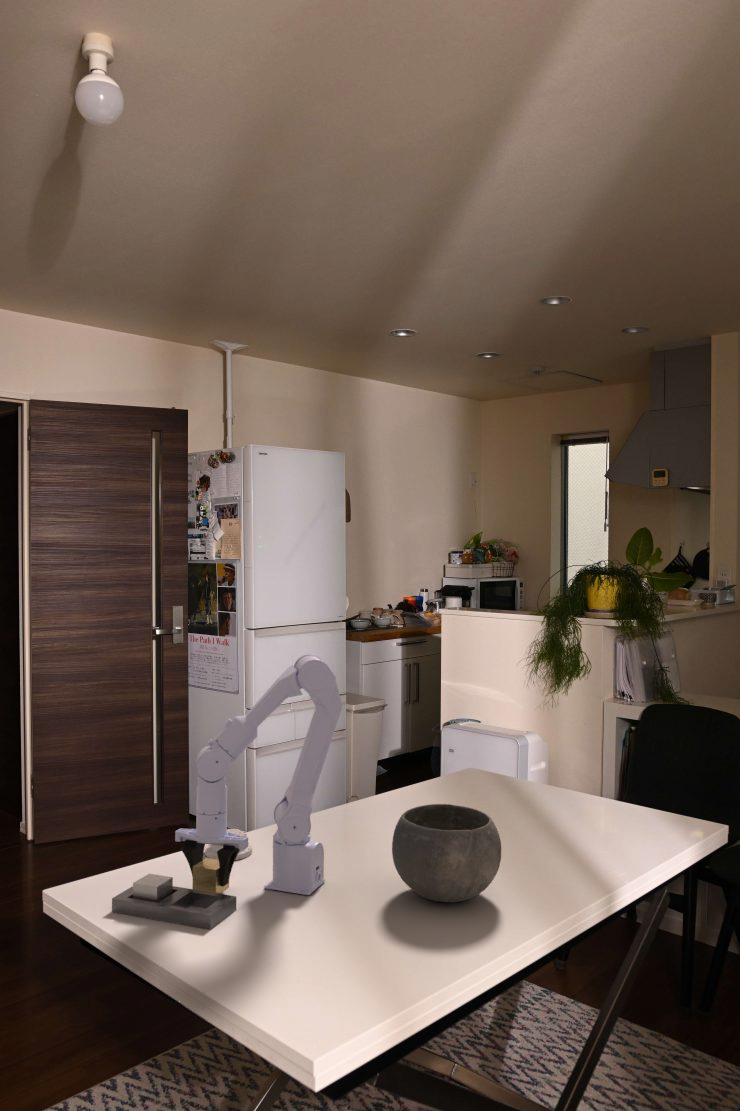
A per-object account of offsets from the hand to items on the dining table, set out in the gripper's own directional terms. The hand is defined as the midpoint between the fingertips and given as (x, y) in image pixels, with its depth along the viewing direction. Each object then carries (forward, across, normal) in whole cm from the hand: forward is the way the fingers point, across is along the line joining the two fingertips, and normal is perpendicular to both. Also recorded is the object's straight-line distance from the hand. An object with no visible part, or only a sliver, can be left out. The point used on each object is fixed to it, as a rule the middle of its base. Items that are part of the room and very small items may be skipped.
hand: (211, 882), depth 171 cm
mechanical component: (+2, +7, -20) cm, 21 cm away
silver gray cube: (+2, +6, +11) cm, 12 cm away
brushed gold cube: (+2, 0, 0) cm, 2 cm away
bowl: (+2, -42, -13) cm, 44 cm away
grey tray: (+1, +1, +11) cm, 11 cm away
